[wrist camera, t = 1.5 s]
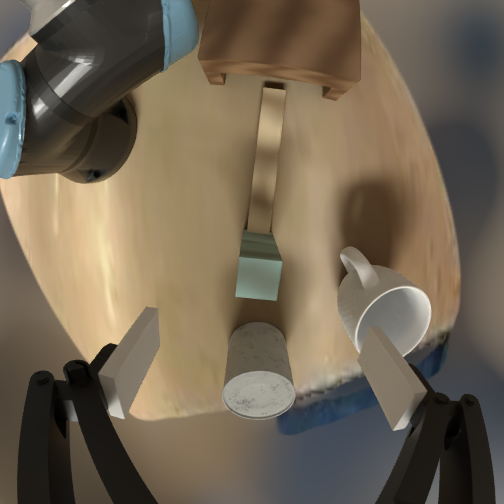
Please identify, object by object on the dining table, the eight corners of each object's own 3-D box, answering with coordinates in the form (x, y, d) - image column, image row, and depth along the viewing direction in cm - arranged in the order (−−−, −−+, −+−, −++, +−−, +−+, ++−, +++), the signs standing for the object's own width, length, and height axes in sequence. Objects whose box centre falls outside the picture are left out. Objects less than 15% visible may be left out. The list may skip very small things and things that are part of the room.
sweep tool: (268, 259, 40) (276, 300, 27) (240, 256, 40) (235, 296, 27) (287, 94, 34) (306, 54, 20) (259, 91, 34) (263, 48, 20)
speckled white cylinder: (227, 321, 43) (220, 369, 31) (288, 321, 43) (299, 369, 31) (229, 367, 45) (223, 418, 33) (284, 368, 45) (291, 418, 34)
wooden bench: (210, 84, 34) (197, 57, 24) (223, 11, 30) (217, -25, 20) (335, 100, 34) (360, 79, 24) (338, 27, 30) (358, -4, 21)
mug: (302, 258, 40) (323, 294, 28) (363, 218, 39) (408, 237, 26) (344, 329, 43) (371, 378, 31) (398, 294, 42) (438, 331, 29)
